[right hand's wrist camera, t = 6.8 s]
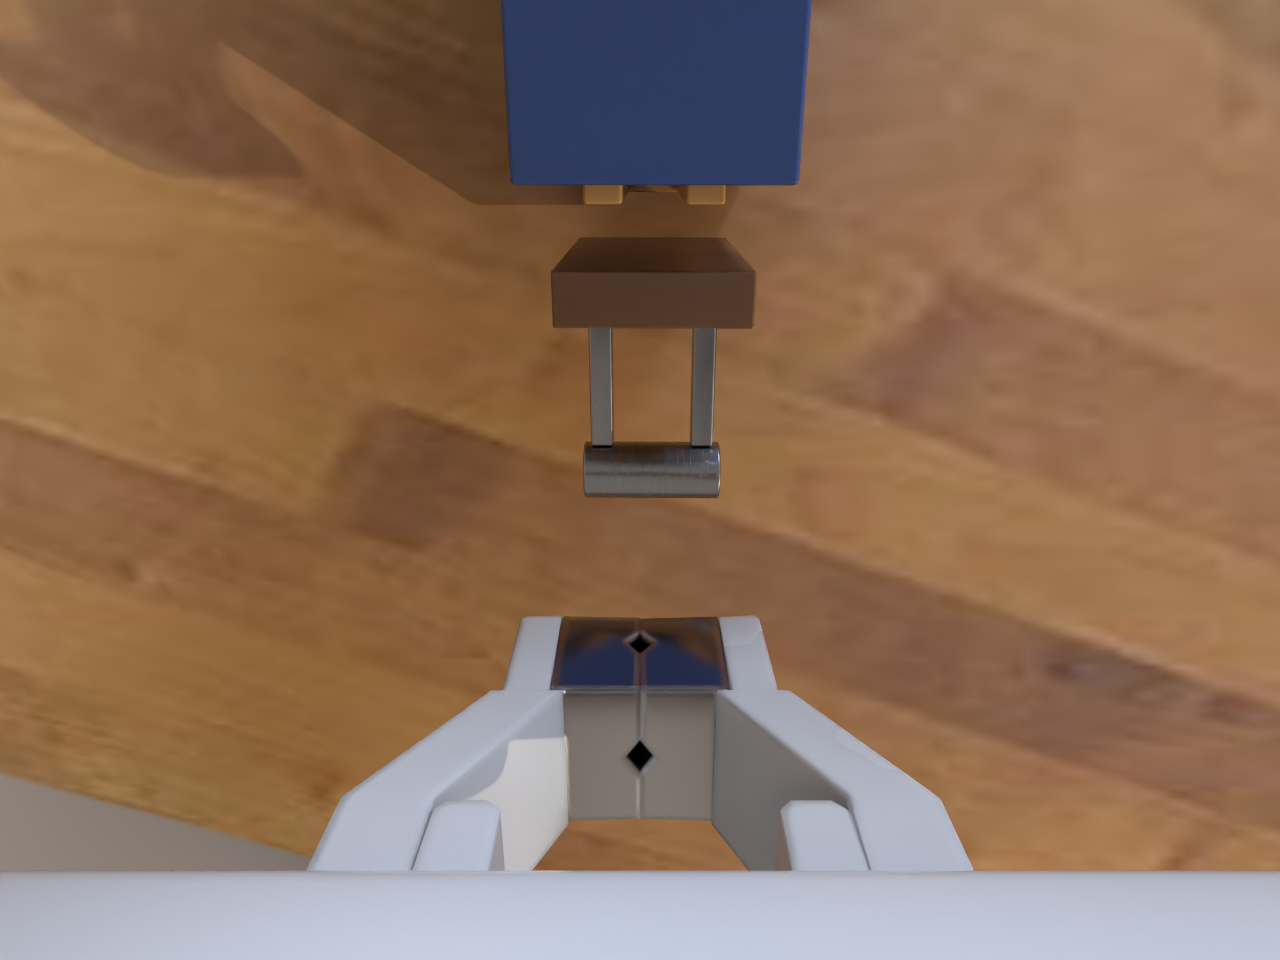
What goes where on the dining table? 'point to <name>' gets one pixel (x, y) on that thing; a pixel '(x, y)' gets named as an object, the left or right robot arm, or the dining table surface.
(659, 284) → the drawer
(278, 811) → the dining table surface
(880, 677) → the dining table surface
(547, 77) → the cabinet
